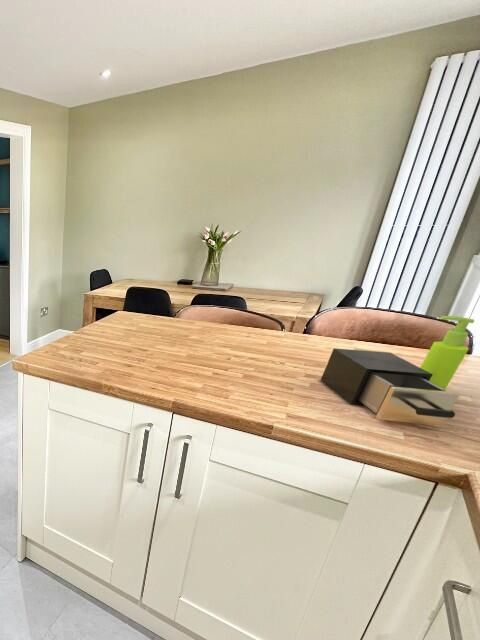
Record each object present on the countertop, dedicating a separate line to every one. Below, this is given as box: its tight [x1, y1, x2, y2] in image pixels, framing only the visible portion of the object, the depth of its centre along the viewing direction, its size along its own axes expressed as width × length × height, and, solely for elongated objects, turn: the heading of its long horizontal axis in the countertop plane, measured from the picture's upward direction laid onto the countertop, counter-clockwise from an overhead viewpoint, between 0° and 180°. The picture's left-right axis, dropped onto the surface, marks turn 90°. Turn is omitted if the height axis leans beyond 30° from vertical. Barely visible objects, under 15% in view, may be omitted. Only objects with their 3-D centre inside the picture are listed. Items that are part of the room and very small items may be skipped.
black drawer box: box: [320, 347, 433, 407], centre depth 101 cm, size 15×13×10 cm
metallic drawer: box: [357, 372, 460, 427], centre depth 90 cm, size 18×11×8 cm, turn 165°
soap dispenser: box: [419, 315, 475, 390], centre depth 100 cm, size 6×7×20 cm
